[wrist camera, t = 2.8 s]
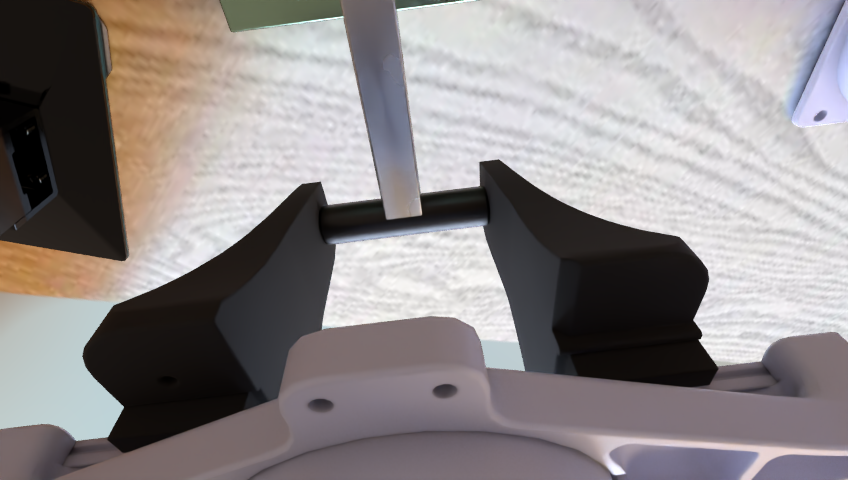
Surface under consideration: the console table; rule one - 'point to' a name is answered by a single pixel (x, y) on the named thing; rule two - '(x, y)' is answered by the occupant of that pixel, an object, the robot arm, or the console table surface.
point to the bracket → (297, 11)
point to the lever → (392, 143)
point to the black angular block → (58, 130)
